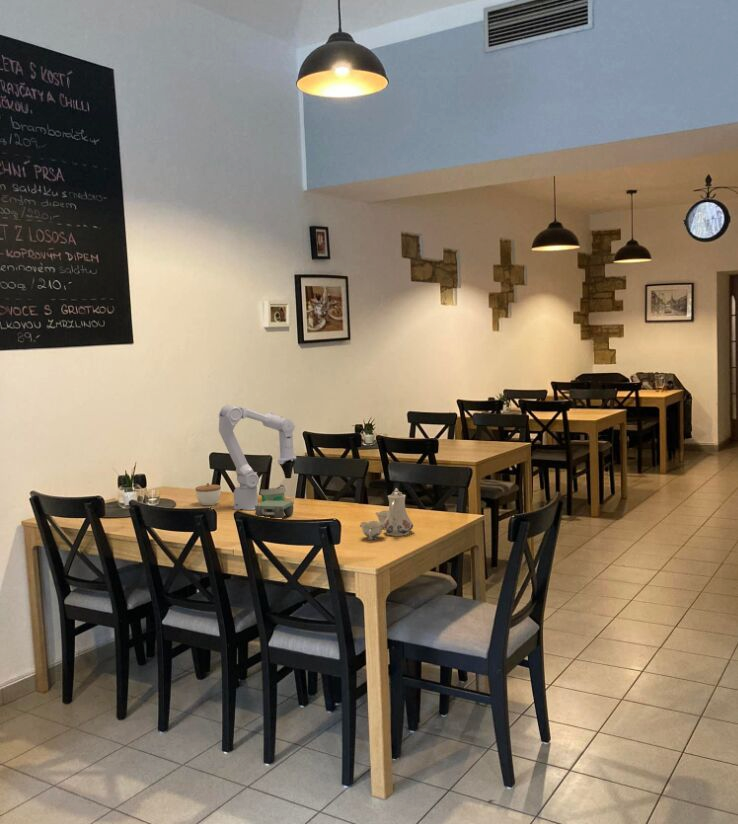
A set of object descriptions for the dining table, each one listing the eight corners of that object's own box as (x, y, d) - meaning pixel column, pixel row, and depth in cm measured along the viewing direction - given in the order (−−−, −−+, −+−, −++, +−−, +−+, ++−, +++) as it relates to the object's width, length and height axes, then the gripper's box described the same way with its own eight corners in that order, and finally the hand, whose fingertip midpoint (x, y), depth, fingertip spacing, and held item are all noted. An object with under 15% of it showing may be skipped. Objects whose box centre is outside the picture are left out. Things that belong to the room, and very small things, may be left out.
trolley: (253, 521, 314) (252, 506, 313) (269, 513, 327) (268, 499, 327) (281, 522, 310) (280, 507, 309) (296, 514, 324) (295, 499, 323)
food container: (272, 515, 323) (270, 490, 322) (261, 513, 327) (259, 489, 326) (293, 509, 333) (292, 485, 332) (282, 508, 337) (281, 484, 336)
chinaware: (377, 527, 302) (371, 484, 301) (421, 523, 298) (415, 479, 297) (359, 547, 275) (352, 499, 274) (406, 543, 271) (399, 494, 270)
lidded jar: (224, 501, 356) (223, 480, 355) (217, 506, 345) (216, 485, 344) (201, 502, 357) (199, 481, 356) (193, 507, 346) (191, 485, 345)
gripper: (288, 449, 338) (289, 481, 340) (301, 444, 352) (303, 475, 353) (272, 449, 341) (274, 481, 342) (286, 444, 354) (288, 475, 355)
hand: (288, 478), depth 348 cm, fingers closed
